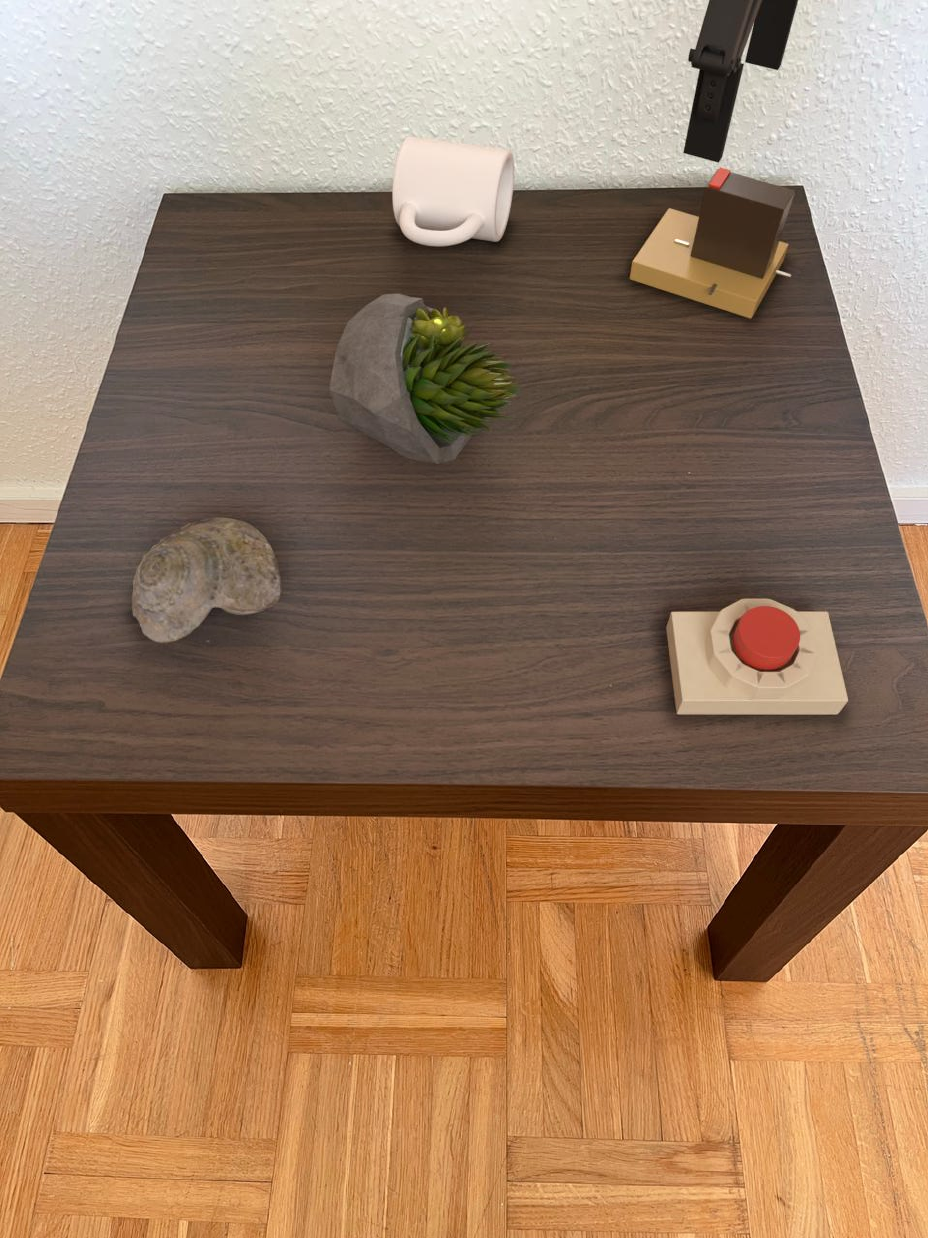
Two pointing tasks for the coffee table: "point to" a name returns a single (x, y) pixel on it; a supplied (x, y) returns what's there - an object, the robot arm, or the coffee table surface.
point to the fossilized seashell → (203, 577)
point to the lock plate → (698, 269)
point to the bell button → (766, 638)
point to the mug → (451, 191)
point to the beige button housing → (731, 686)
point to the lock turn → (741, 222)
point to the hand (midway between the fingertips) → (733, 107)
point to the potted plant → (416, 379)
